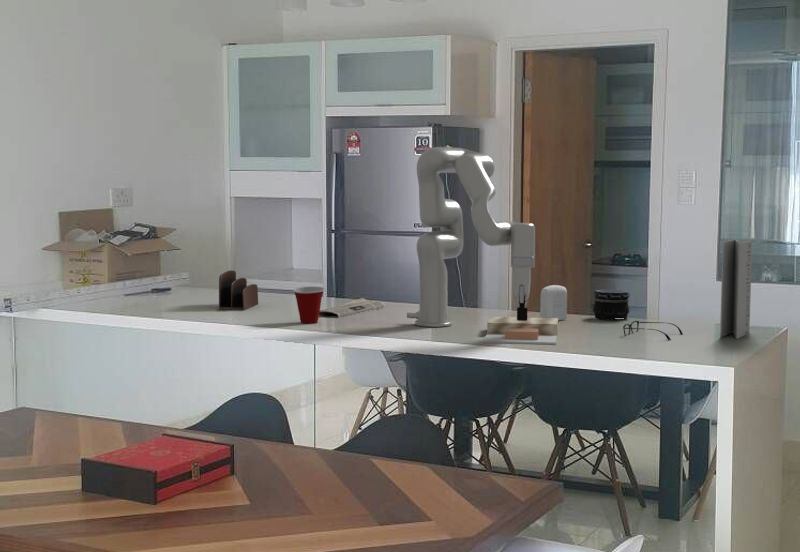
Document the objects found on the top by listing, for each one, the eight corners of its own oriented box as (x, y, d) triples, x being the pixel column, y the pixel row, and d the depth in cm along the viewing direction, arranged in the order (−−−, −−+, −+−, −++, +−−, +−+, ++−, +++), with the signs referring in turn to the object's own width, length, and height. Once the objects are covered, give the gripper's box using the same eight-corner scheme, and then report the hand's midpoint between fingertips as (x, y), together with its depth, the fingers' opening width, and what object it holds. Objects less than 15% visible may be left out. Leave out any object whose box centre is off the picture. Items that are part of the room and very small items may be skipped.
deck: (487, 335, 341) (487, 322, 340) (490, 328, 354) (490, 316, 354) (557, 336, 337) (557, 324, 337) (557, 330, 351) (558, 318, 351)
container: (613, 315, 388) (614, 288, 387) (637, 319, 377) (637, 291, 376) (585, 317, 382) (585, 289, 381) (607, 322, 371) (608, 293, 370)
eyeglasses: (636, 331, 351) (637, 319, 351) (684, 335, 343) (685, 322, 343) (620, 338, 337) (620, 325, 337) (670, 342, 329) (670, 329, 329)
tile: (506, 328, 335) (506, 335, 336) (505, 331, 328) (505, 339, 329) (538, 328, 334) (538, 336, 334) (538, 332, 327) (538, 339, 327)
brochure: (737, 338, 333) (740, 242, 330) (719, 337, 336) (722, 241, 333) (749, 332, 345) (752, 240, 342) (732, 331, 348) (734, 239, 345)
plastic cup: (287, 324, 366) (287, 289, 365) (302, 319, 376) (301, 285, 375) (316, 325, 362) (315, 290, 361) (329, 321, 372) (329, 287, 371)
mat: (483, 342, 326) (483, 340, 325) (486, 335, 339) (486, 333, 339) (556, 344, 322) (556, 342, 322) (557, 337, 336) (557, 335, 336)
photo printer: (560, 318, 379) (560, 283, 378) (568, 320, 376) (569, 284, 375) (538, 320, 374) (538, 285, 373) (546, 322, 370) (546, 286, 369)
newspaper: (338, 319, 381) (338, 309, 381) (309, 317, 387) (309, 307, 387) (387, 308, 412) (387, 299, 411) (359, 306, 418) (359, 297, 417)
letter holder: (218, 310, 403) (217, 273, 402) (234, 304, 422) (233, 268, 421) (244, 311, 401) (243, 273, 400) (258, 304, 421) (258, 268, 420)
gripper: (512, 260, 344) (511, 316, 345) (509, 264, 329) (508, 323, 331) (535, 260, 342) (535, 317, 344) (533, 264, 328) (533, 323, 329)
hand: (522, 320), depth 337 cm, fingers closed
